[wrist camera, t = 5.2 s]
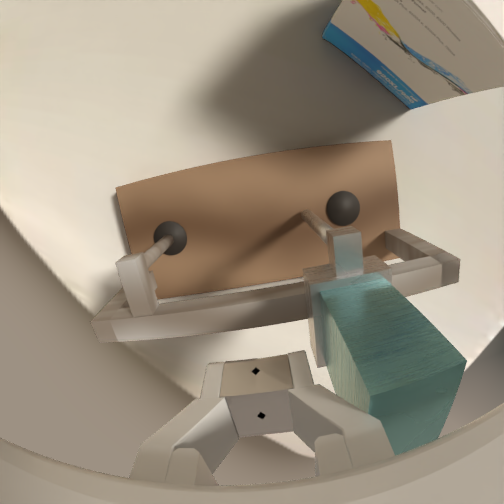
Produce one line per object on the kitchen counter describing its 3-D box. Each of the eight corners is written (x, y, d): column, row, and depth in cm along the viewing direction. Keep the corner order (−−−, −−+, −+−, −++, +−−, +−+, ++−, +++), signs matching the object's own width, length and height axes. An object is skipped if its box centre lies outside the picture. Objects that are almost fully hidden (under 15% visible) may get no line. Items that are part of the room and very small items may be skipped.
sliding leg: (280, 207, 17) (358, 327, 4) (329, 200, 17) (491, 287, 4) (291, 285, 18) (347, 474, 6) (337, 277, 18) (443, 440, 5)
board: (123, 186, 18) (52, 202, 10) (383, 141, 17) (454, 133, 9) (151, 293, 20) (106, 356, 13) (393, 252, 19) (456, 297, 12)
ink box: (410, 113, 17) (534, 89, 5) (318, 36, 15) (378, -69, 4) (451, 51, 15) (548, 15, 3) (373, -17, 13) (437, -95, 2)
